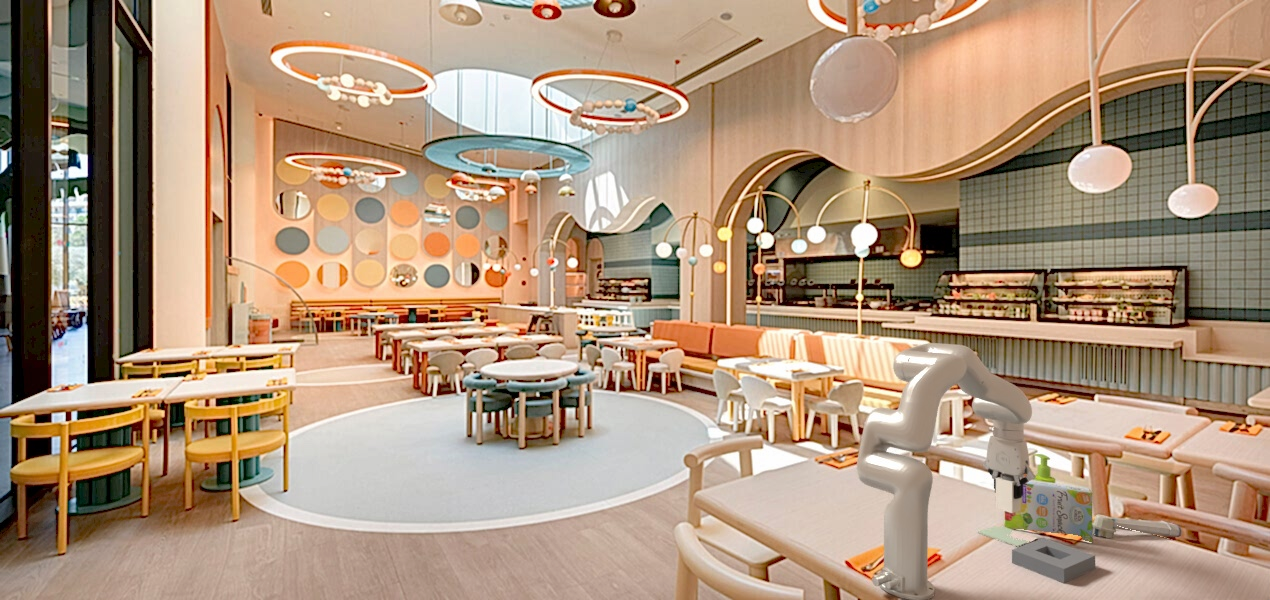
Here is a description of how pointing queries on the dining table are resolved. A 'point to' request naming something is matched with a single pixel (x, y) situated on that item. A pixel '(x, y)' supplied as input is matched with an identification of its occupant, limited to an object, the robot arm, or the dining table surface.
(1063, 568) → the grey rectangular frame block
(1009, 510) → the plug
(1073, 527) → the snack box
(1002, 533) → the mat
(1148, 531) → the hair straightener
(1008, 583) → the dining table surface
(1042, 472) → the soap dispenser
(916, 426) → the robot arm
